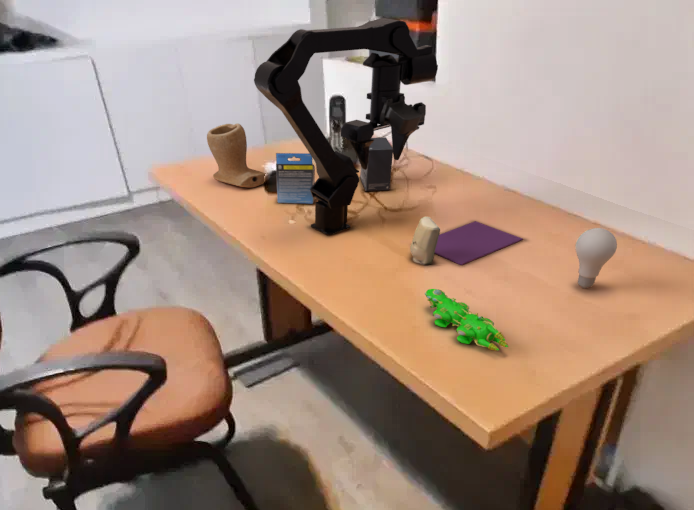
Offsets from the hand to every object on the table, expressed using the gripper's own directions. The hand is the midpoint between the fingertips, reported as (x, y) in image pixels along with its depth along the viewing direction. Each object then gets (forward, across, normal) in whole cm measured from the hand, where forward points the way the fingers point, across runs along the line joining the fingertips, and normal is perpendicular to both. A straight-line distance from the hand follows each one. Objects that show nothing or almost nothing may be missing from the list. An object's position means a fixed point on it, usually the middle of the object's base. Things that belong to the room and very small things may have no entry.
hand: (380, 164), depth 135 cm
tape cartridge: (+12, -8, +20) cm, 25 cm away
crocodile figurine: (+12, -22, -43) cm, 50 cm away
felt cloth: (+12, +4, -22) cm, 25 cm away
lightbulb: (+12, +5, -47) cm, 49 cm away
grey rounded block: (+12, -8, -22) cm, 26 cm away
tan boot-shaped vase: (+12, -12, +41) cm, 44 cm away
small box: (+12, +14, +16) cm, 25 cm away
